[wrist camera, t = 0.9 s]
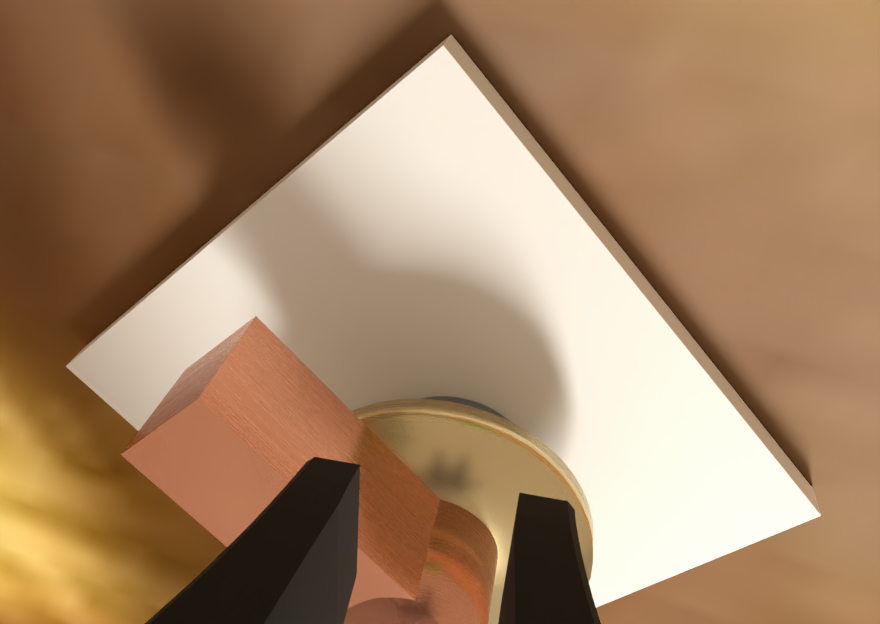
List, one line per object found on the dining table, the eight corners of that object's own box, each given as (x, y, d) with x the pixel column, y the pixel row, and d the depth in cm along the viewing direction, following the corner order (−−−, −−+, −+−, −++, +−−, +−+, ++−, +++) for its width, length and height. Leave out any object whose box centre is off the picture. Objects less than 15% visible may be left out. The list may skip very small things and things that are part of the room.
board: (423, 654, 29) (405, 736, 26) (84, 346, 24) (22, 410, 22) (813, 488, 22) (839, 576, 20) (451, 34, 18) (424, 70, 15)
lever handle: (423, 661, 24) (394, 792, 20) (134, 400, 20) (47, 507, 17) (657, 563, 20) (665, 702, 17) (353, 232, 17) (296, 327, 14)
